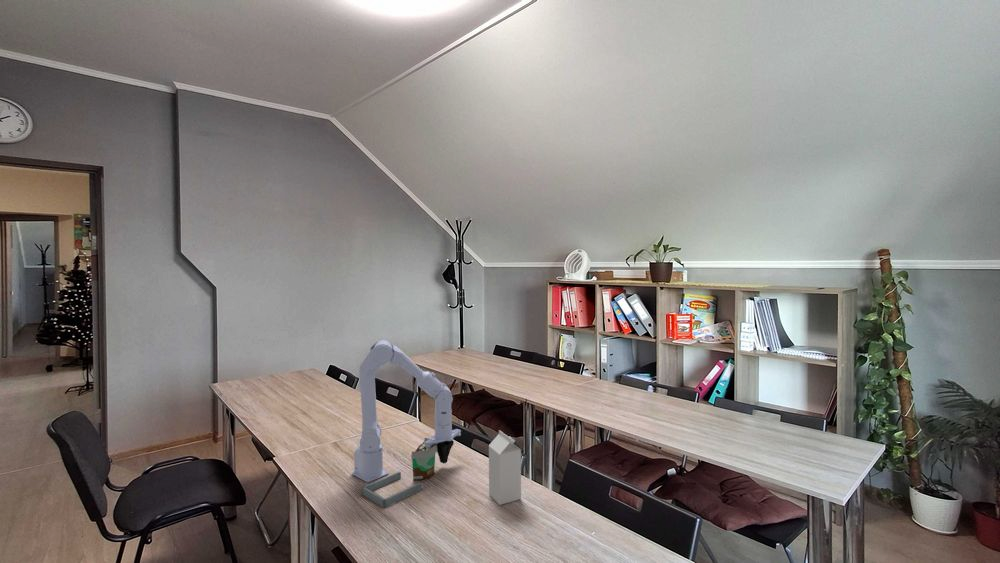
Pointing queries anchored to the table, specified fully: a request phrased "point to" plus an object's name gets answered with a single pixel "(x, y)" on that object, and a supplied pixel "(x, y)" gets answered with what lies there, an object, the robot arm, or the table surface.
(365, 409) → the robot arm
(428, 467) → the food container
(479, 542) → the table surface
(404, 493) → the u-shaped bracket
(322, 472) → the table surface
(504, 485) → the milk carton
